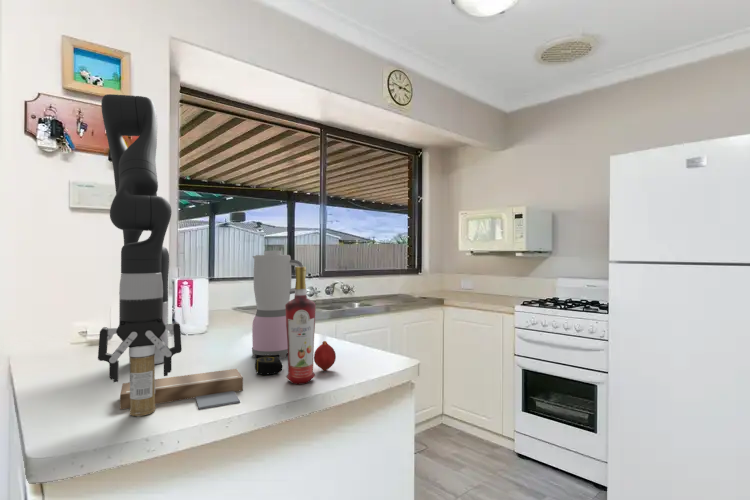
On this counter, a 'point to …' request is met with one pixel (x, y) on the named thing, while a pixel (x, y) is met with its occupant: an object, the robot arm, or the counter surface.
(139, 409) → the sprinkles bottle
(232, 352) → the counter surface
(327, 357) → the onion
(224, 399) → the grey pad
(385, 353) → the counter surface
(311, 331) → the liquor
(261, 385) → the counter surface
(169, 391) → the walnut board
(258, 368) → the tape measure
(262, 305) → the blender
